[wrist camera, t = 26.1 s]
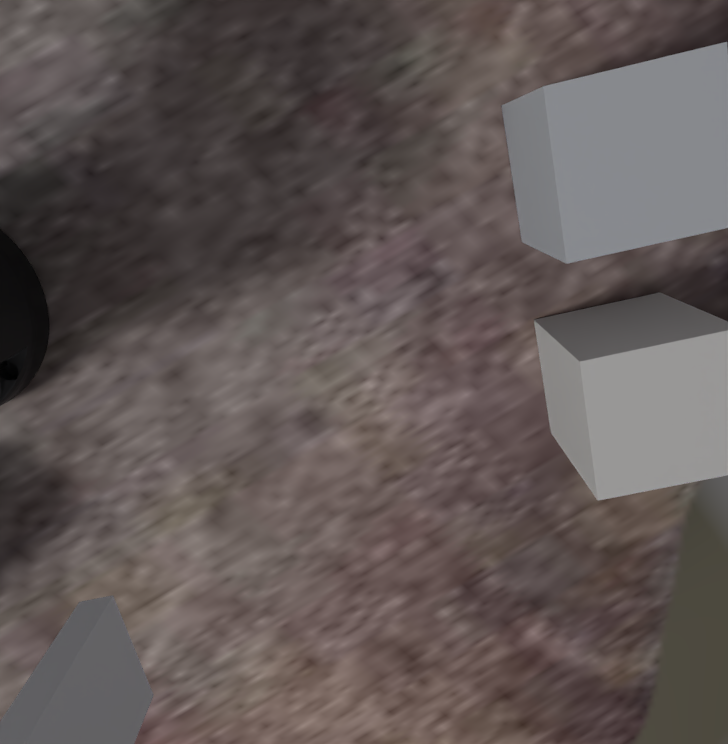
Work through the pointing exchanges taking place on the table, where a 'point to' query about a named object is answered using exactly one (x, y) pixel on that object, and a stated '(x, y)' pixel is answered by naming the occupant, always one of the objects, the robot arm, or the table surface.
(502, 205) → the table surface
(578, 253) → the grey arch block
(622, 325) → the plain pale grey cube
